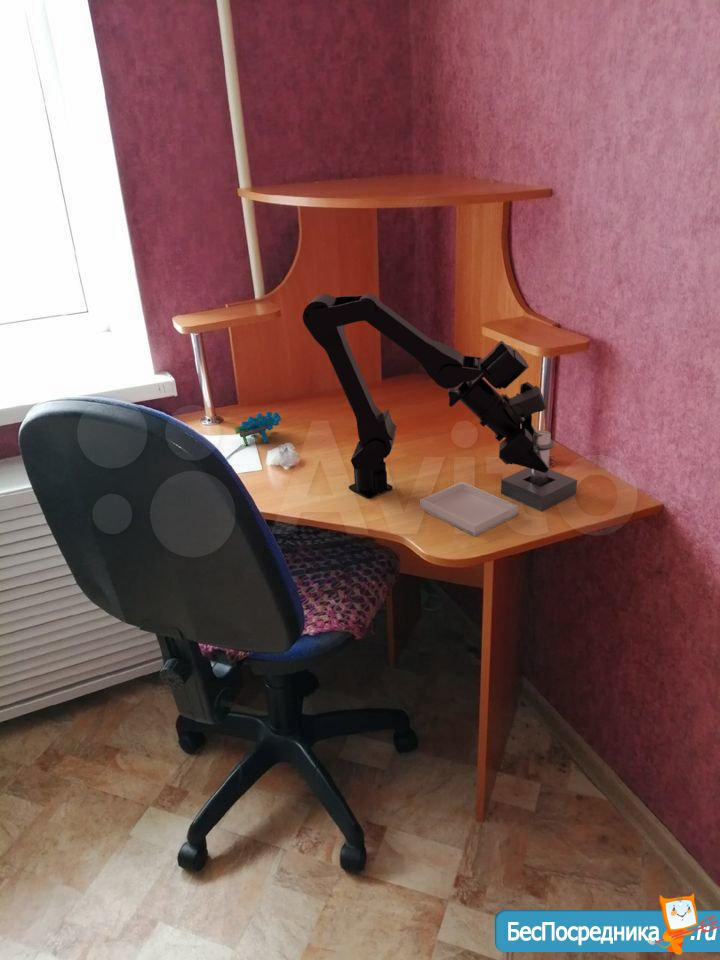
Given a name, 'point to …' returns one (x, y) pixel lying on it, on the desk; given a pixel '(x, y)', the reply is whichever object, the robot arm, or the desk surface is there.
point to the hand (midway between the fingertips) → (545, 460)
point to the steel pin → (543, 449)
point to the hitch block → (538, 489)
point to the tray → (468, 508)
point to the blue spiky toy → (258, 425)
